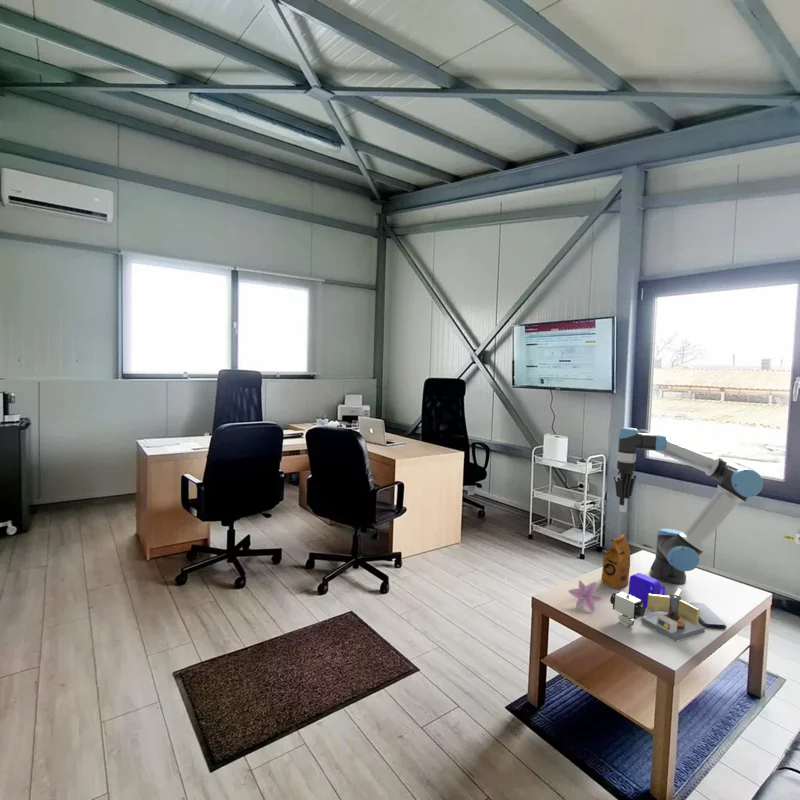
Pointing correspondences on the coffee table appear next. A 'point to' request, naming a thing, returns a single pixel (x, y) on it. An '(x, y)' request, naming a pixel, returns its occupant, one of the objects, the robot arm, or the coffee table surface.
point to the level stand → (671, 626)
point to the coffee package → (617, 564)
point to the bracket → (644, 587)
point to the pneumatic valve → (627, 607)
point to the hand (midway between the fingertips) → (622, 511)
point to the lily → (586, 595)
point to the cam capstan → (674, 608)
